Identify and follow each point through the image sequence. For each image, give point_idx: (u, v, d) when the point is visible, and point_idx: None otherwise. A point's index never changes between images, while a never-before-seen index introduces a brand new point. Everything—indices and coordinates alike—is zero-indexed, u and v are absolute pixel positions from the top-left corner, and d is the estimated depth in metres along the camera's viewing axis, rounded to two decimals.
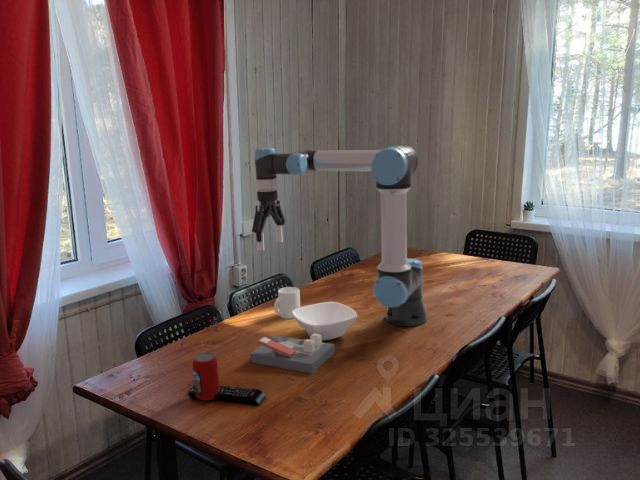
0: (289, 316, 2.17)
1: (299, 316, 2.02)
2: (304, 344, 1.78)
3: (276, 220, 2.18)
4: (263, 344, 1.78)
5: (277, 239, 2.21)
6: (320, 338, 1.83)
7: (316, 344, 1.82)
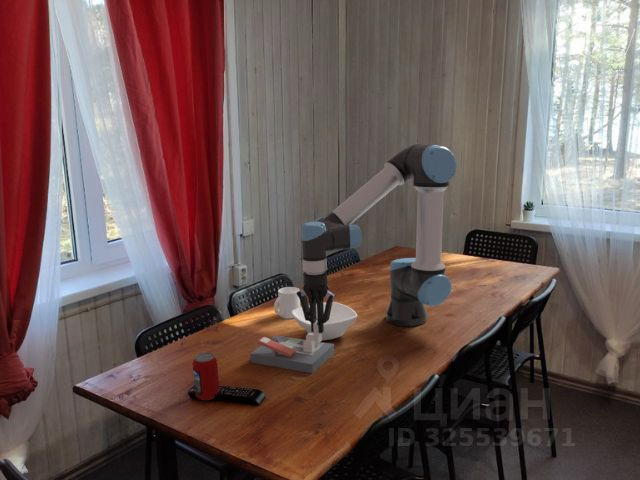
0: (289, 316, 2.17)
1: (299, 316, 2.02)
2: (304, 344, 1.78)
3: None
4: (263, 344, 1.78)
5: None
6: None
7: None
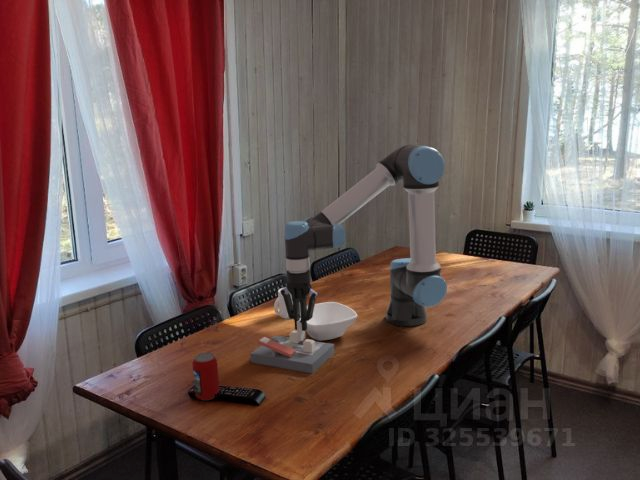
0: None
1: None
2: (304, 344, 1.78)
3: None
4: (263, 344, 1.78)
5: None
6: None
7: (295, 341, 1.86)
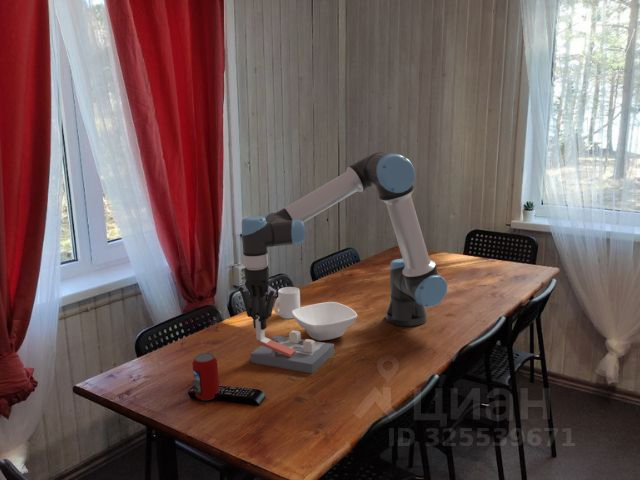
0: (289, 316, 2.17)
1: (299, 316, 2.02)
2: (304, 344, 1.78)
3: None
4: (263, 344, 1.78)
5: None
6: (299, 335, 1.86)
7: (295, 341, 1.86)
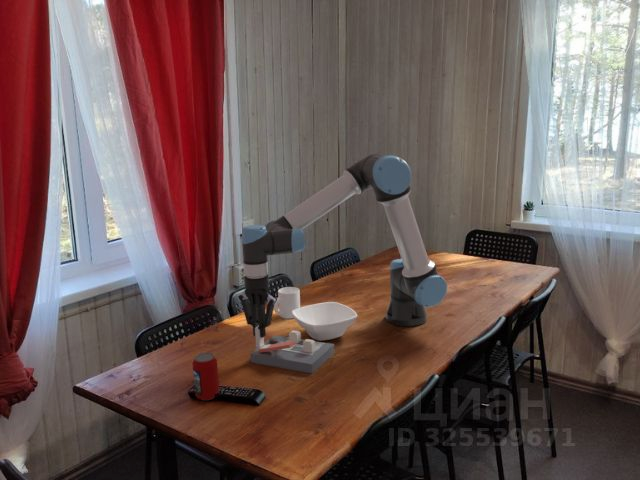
0: (289, 316, 2.17)
1: (299, 316, 2.02)
2: (304, 344, 1.78)
3: None
4: (263, 350, 1.79)
5: None
6: (299, 335, 1.86)
7: (295, 341, 1.86)
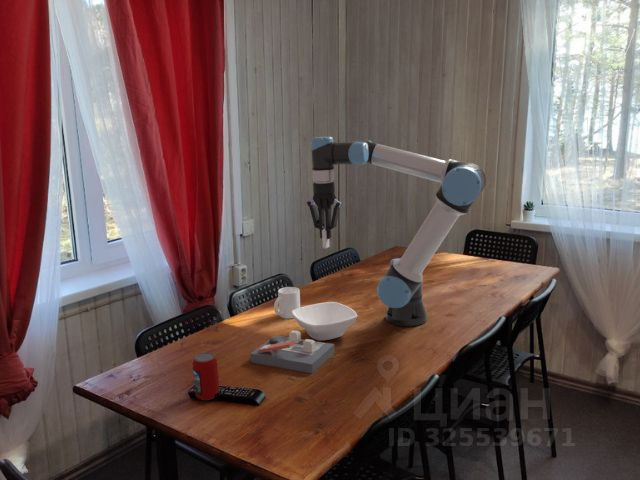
0: (289, 316, 2.17)
1: (299, 316, 2.02)
2: (304, 344, 1.78)
3: None
4: (264, 350, 1.79)
5: None
6: (299, 335, 1.86)
7: (295, 341, 1.86)
